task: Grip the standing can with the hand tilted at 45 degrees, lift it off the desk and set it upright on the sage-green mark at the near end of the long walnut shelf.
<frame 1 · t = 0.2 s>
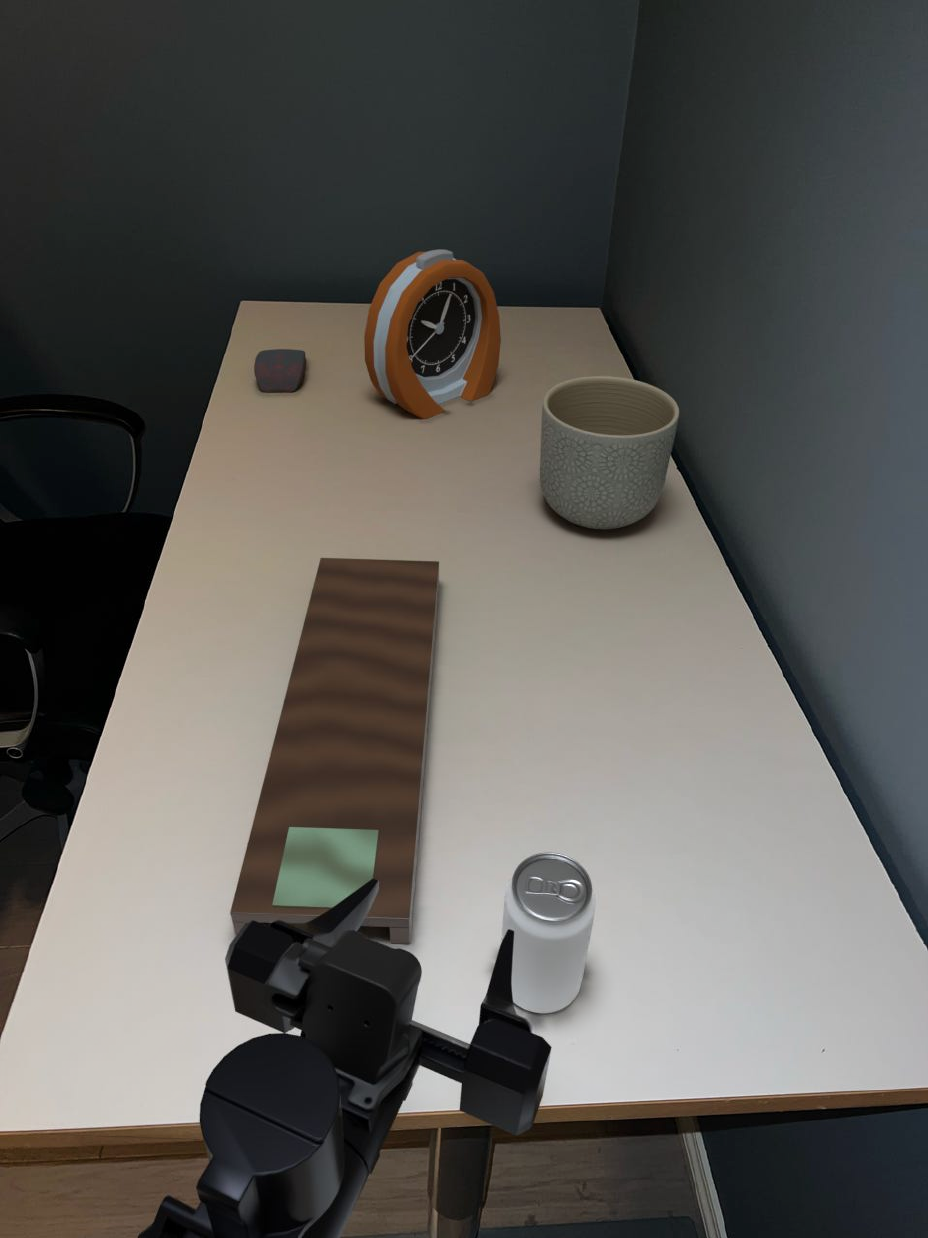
hand: (442, 908, 58), 16 cm above the table, tool horizontal, fingers open, 9 cm apart
shelf: (364, 682, 97), on the table
alarm clock: (438, 396, 150), on the table
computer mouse: (283, 375, 155), on the table
can: (539, 977, 72), on the table
planter: (597, 510, 125), on the table
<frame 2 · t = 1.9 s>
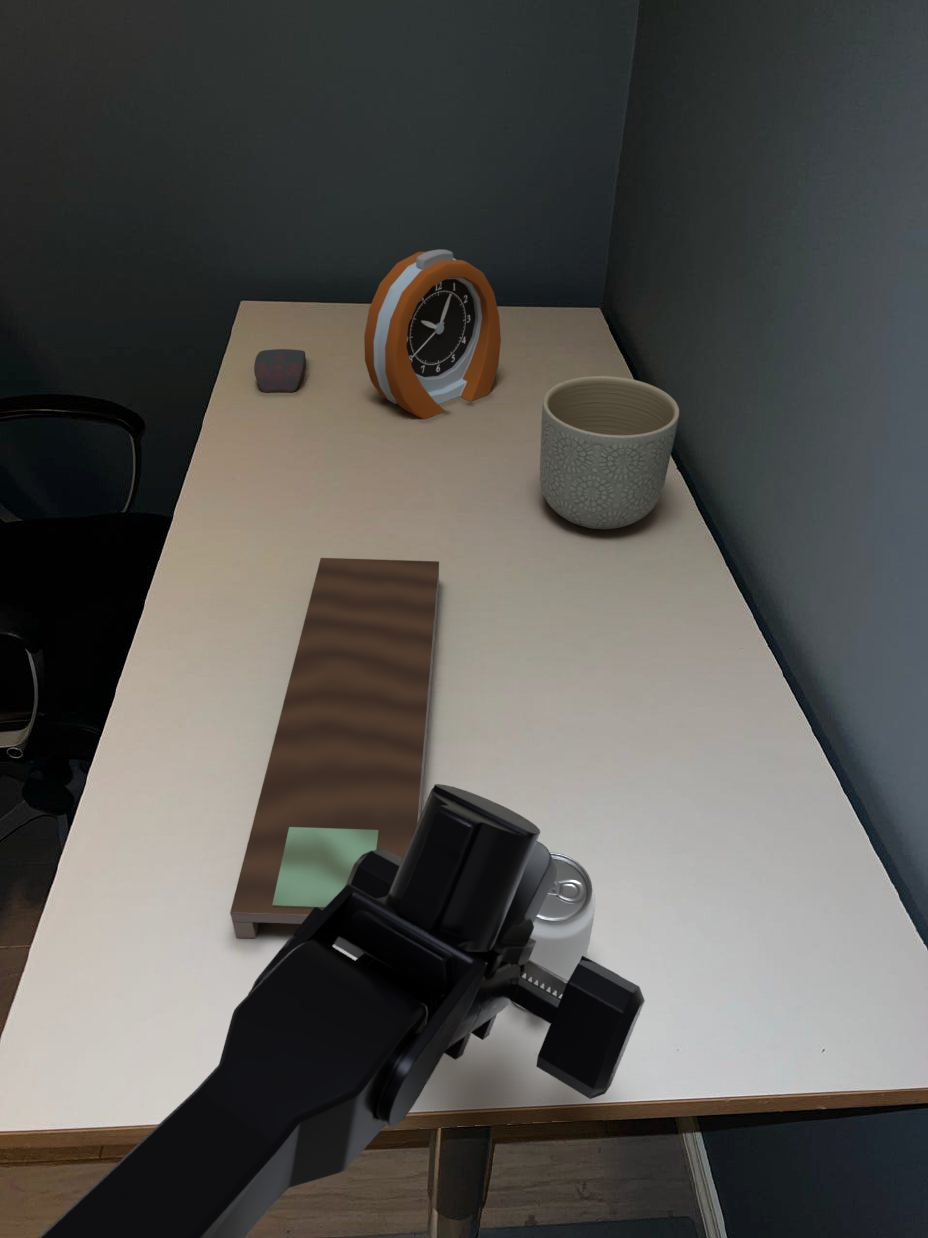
hand: (520, 942, 62), 11 cm above the table, tool tilted 45°, fingers open, 9 cm apart
nothing on the table moved.
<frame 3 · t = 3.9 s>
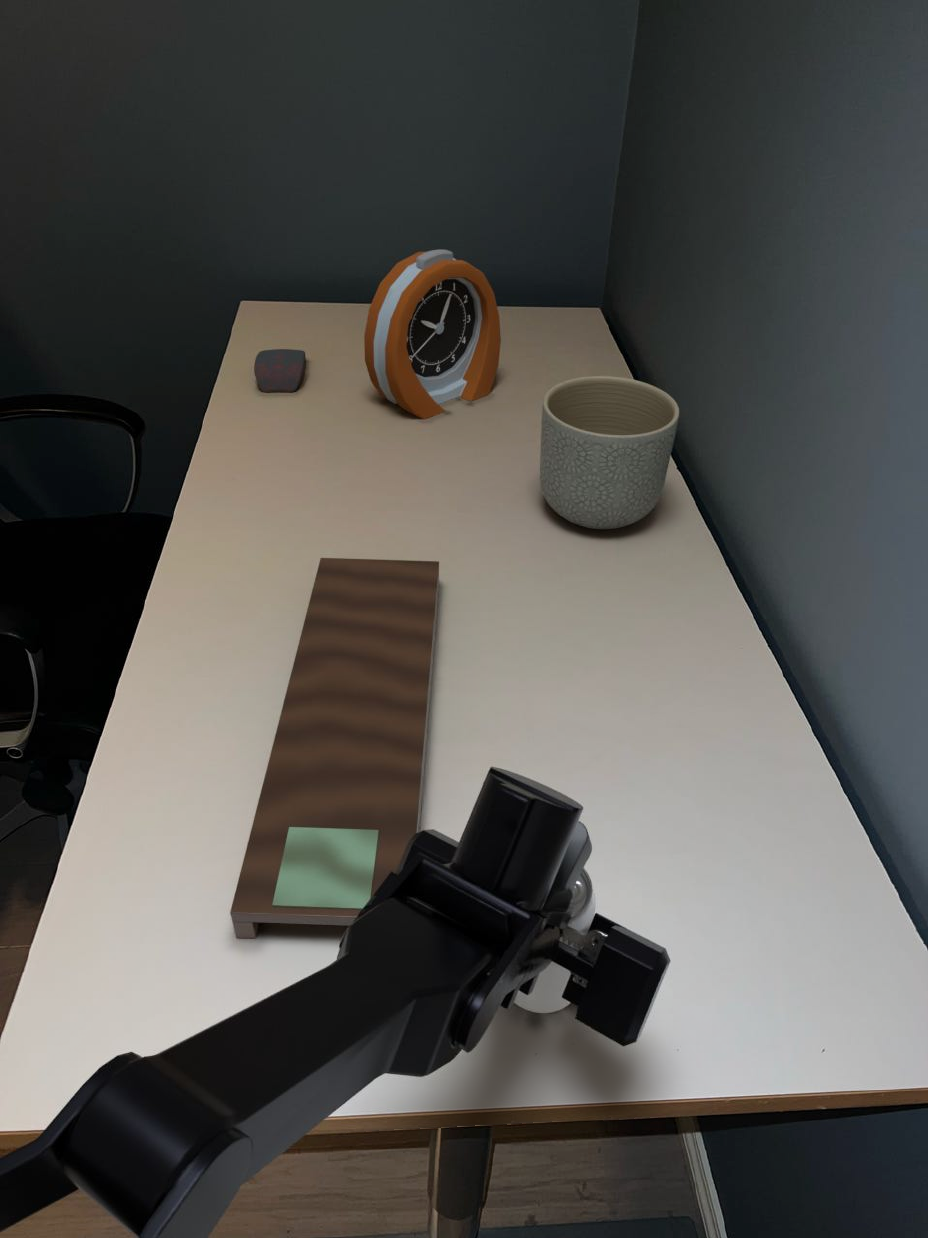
hand: (554, 914, 69), 7 cm above the table, tool tilted 45°, fingers closed on can, 6 cm apart
can: (539, 977, 72), on the table, touching gripper
everything else where it was.
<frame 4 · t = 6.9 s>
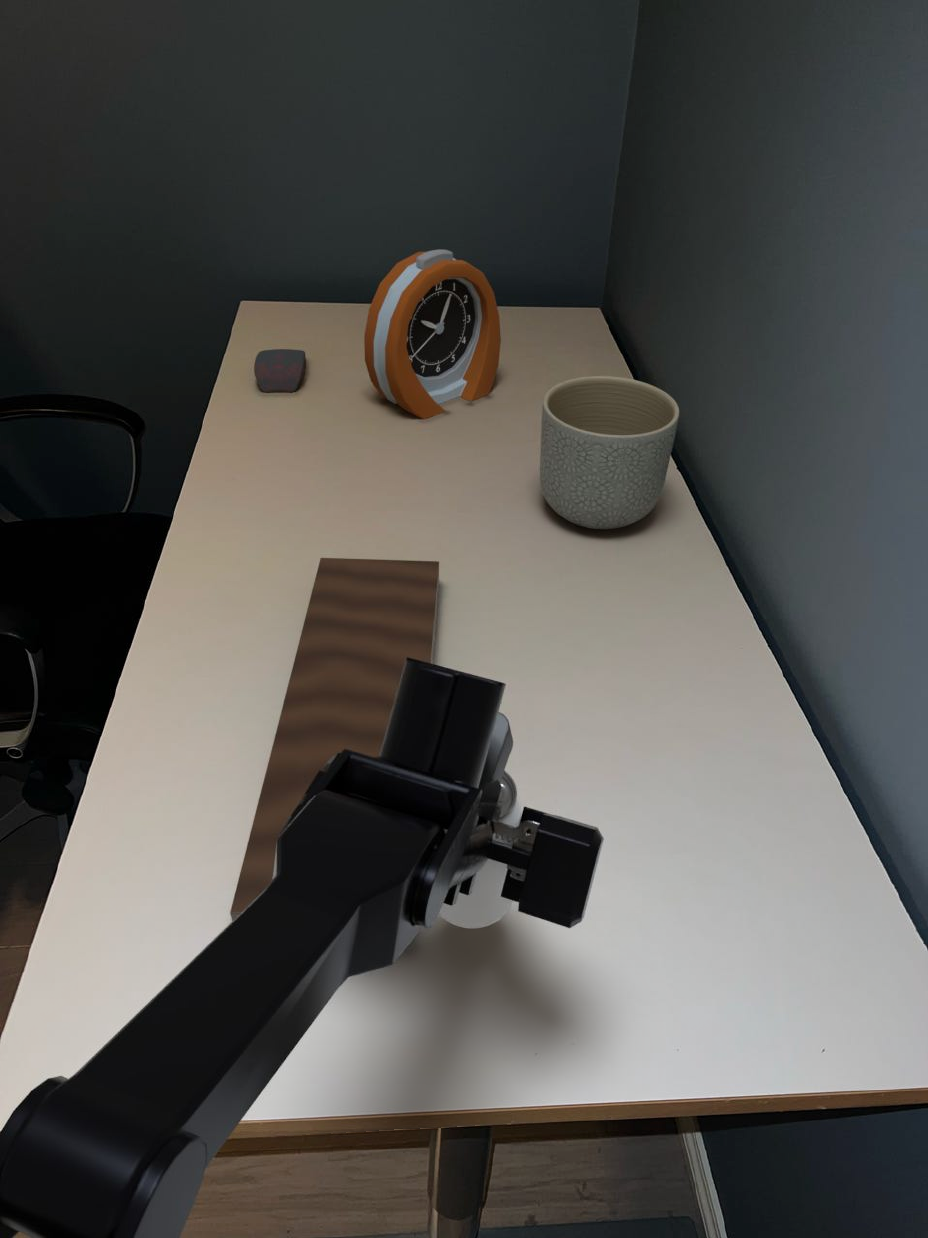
hand: (479, 826, 68), 12 cm above the table, tool tilted 45°, fingers closed on can, 6 cm apart
can: (471, 896, 71), point 6 cm above the table, touching gripper
everything else where it was.
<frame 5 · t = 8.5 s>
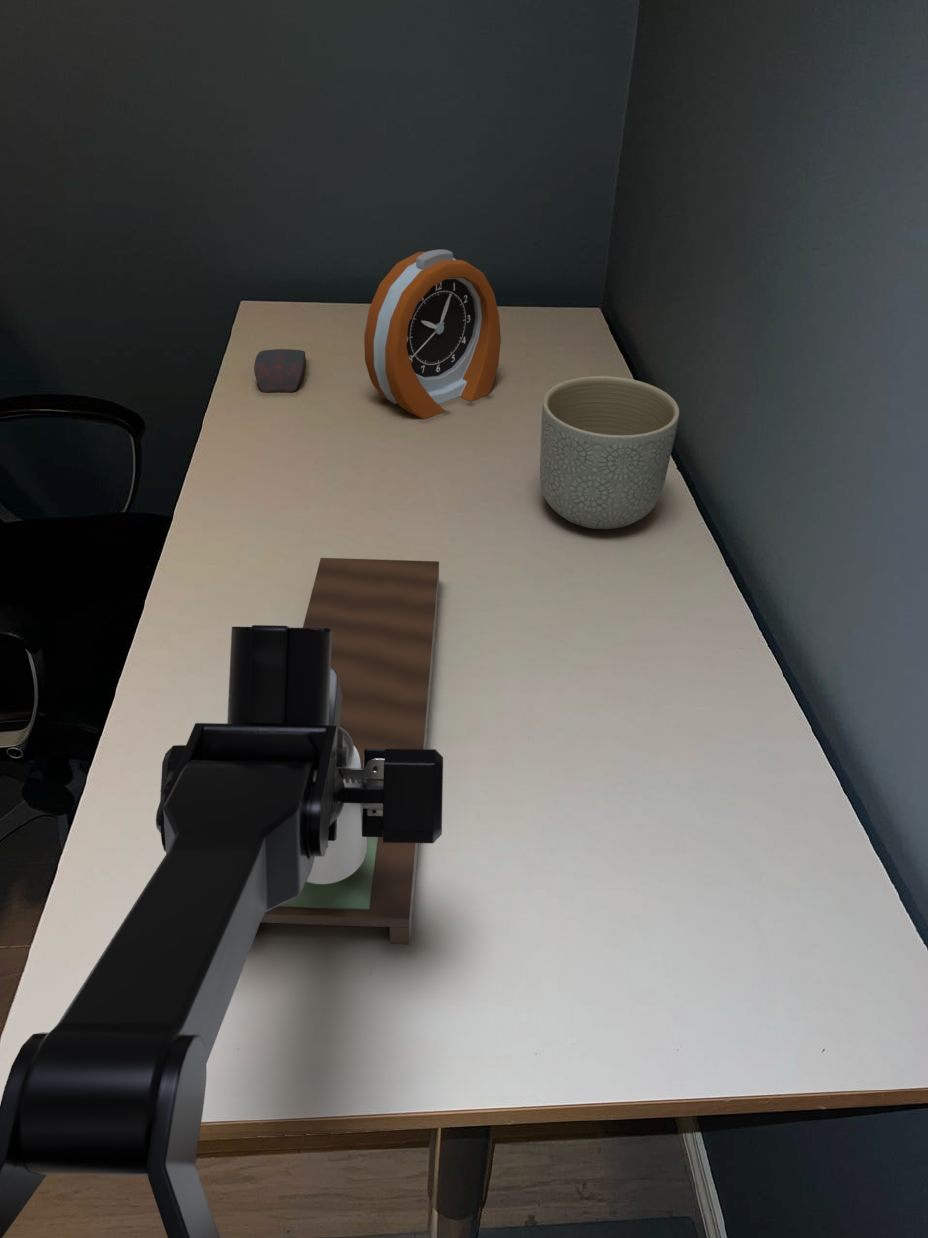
hand: (322, 785, 71), 12 cm above the table, tool tilted 45°, fingers closed on can, 6 cm apart
can: (326, 855, 74), point 5 cm above the table, touching gripper
everything else where it was.
when the fingers open (10 cm above the table, at t = 9.8 s): can stays where it is, resting on shelf.
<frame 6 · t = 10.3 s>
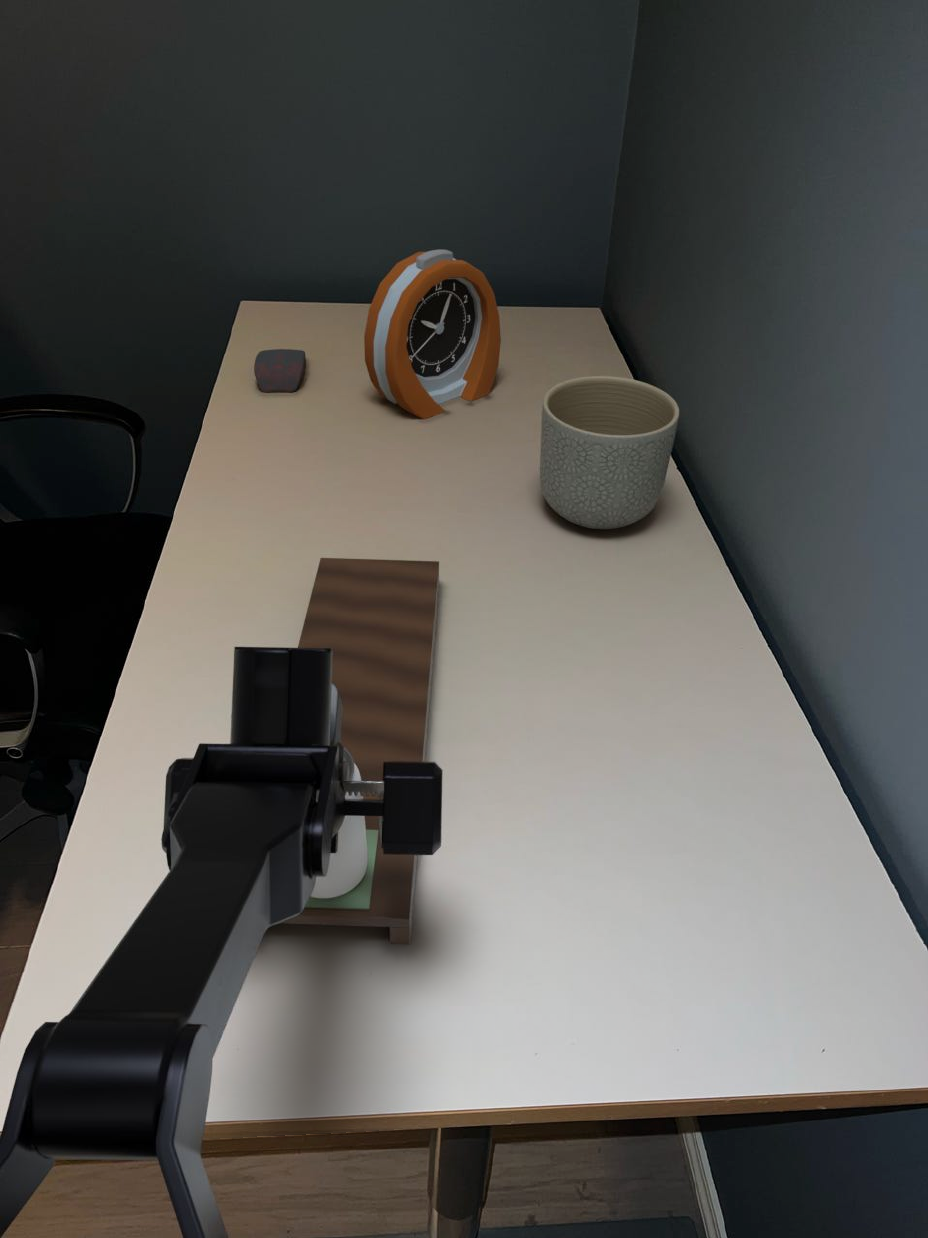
hand: (323, 794, 72), 11 cm above the table, tool tilted 45°, fingers open, 9 cm apart
can: (328, 868, 75), point 4 cm above the table, touching shelf
everything else where it was.
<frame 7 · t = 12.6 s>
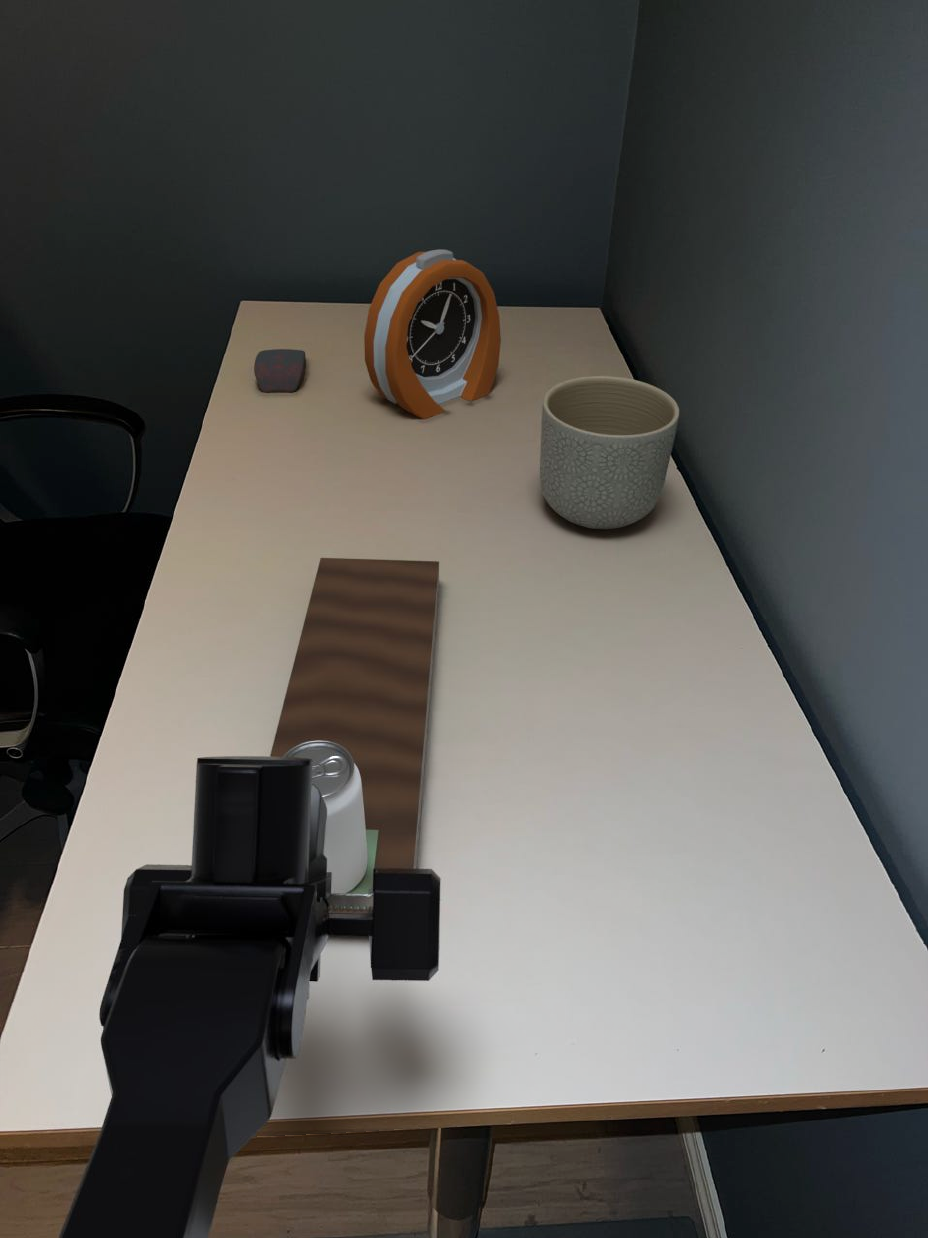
hand: (306, 895, 64), 12 cm above the table, tool tilted 45°, fingers open, 9 cm apart
nothing on the table moved.
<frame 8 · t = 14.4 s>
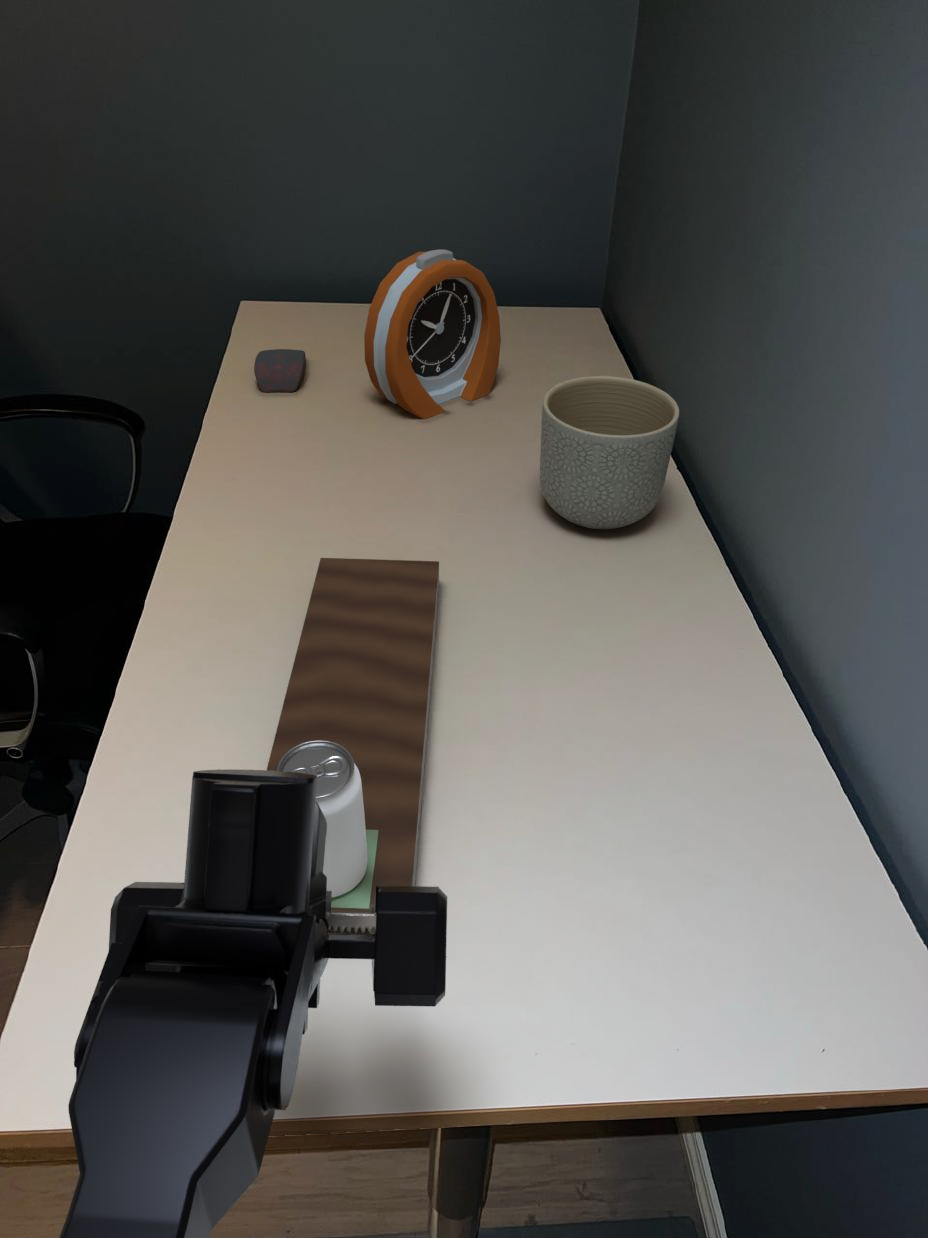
hand: (305, 911, 61), 14 cm above the table, tool tilted 45°, fingers open, 9 cm apart
nothing on the table moved.
at the end: can 0.1 cm from the target spot on the shelf, point 3.5 cm above the shelf's base; can tilted 0°; the gripper is holding nothing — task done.
